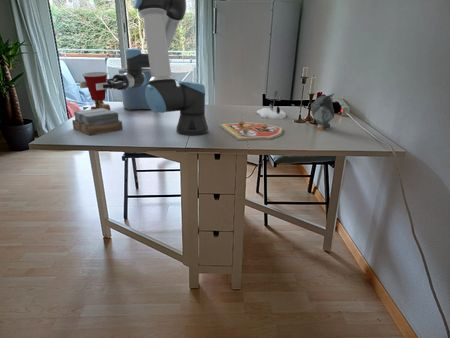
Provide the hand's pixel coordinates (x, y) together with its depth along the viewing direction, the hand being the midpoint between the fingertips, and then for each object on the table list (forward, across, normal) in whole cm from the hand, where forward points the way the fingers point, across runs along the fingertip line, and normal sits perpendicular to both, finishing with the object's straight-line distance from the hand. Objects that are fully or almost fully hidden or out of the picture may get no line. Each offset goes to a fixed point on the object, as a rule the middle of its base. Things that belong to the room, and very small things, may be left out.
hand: (88, 86), depth 134 cm
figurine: (-80, -64, -20) cm, 105 cm away
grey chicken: (-62, -95, -20) cm, 116 cm away
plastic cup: (-5, 0, -7) cm, 8 cm away
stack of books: (-3, 0, -20) cm, 20 cm away
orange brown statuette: (-24, +17, -20) cm, 36 cm away
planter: (-56, +16, -20) cm, 61 cm away
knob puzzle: (-38, -67, -21) cm, 80 cm away
